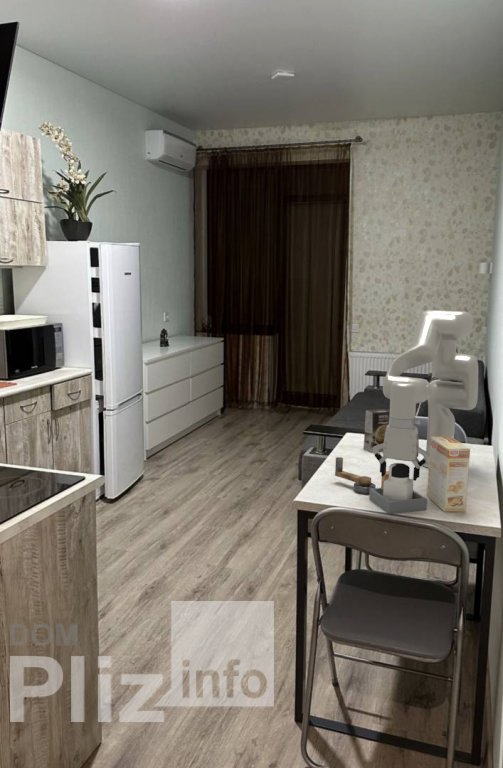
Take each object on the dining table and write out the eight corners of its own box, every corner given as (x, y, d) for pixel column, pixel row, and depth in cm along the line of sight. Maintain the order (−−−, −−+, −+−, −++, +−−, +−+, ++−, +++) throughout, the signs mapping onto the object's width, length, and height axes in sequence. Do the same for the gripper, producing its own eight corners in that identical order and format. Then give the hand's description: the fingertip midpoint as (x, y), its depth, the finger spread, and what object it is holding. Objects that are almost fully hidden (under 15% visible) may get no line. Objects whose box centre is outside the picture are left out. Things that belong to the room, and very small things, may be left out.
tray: (404, 495, 205) (405, 485, 205) (426, 509, 194) (427, 498, 193) (369, 499, 202) (369, 488, 201) (389, 513, 190) (389, 502, 189)
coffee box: (372, 453, 255) (374, 413, 252) (363, 448, 260) (364, 409, 258) (391, 450, 258) (393, 411, 255) (382, 446, 264) (384, 408, 261)
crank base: (369, 486, 214) (369, 480, 214) (379, 493, 207) (379, 487, 207) (349, 488, 212) (350, 482, 212) (359, 495, 205) (359, 489, 205)
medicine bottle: (412, 501, 199) (414, 463, 197) (405, 508, 193) (407, 469, 191) (390, 496, 203) (392, 460, 200) (382, 503, 196) (384, 465, 194)
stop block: (383, 495, 206) (385, 474, 205) (380, 492, 209) (382, 471, 207) (393, 495, 206) (394, 474, 205) (389, 491, 209) (391, 471, 208)
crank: (373, 484, 209) (374, 465, 208) (365, 486, 206) (366, 468, 205) (339, 474, 219) (340, 456, 218) (332, 476, 217) (332, 458, 216)
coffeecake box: (466, 511, 192) (471, 448, 189) (443, 512, 192) (447, 448, 189) (447, 494, 207) (451, 435, 204) (425, 495, 207) (429, 436, 203)
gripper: (433, 423, 193) (430, 477, 196) (376, 417, 200) (374, 469, 204) (429, 428, 187) (425, 485, 190) (370, 422, 194) (368, 476, 197)
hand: (399, 477), depth 197 cm, fingers open, 9 cm apart
